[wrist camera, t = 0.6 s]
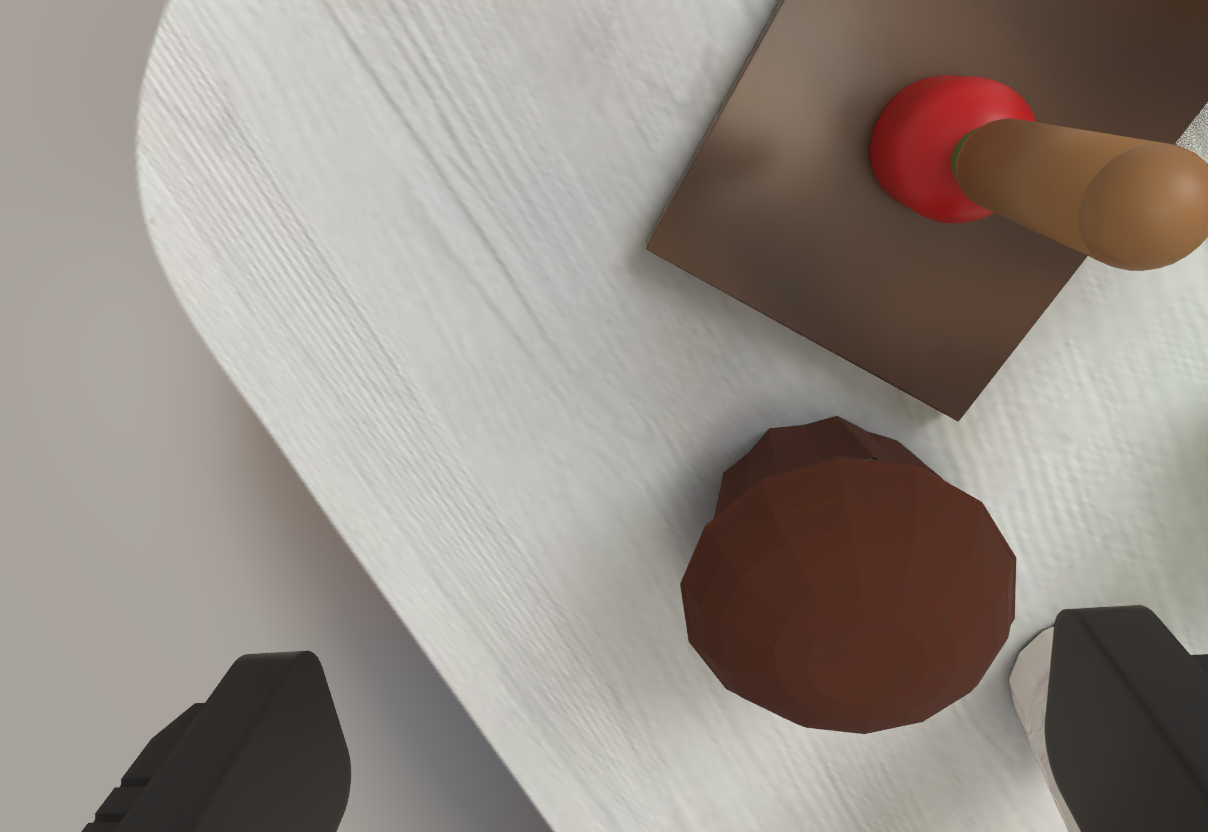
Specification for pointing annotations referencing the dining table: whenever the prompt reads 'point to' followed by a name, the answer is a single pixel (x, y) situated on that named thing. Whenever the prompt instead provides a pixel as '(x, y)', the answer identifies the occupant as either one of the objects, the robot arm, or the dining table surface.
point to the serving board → (880, 223)
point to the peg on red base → (1038, 173)
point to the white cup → (1037, 708)
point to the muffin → (847, 582)
